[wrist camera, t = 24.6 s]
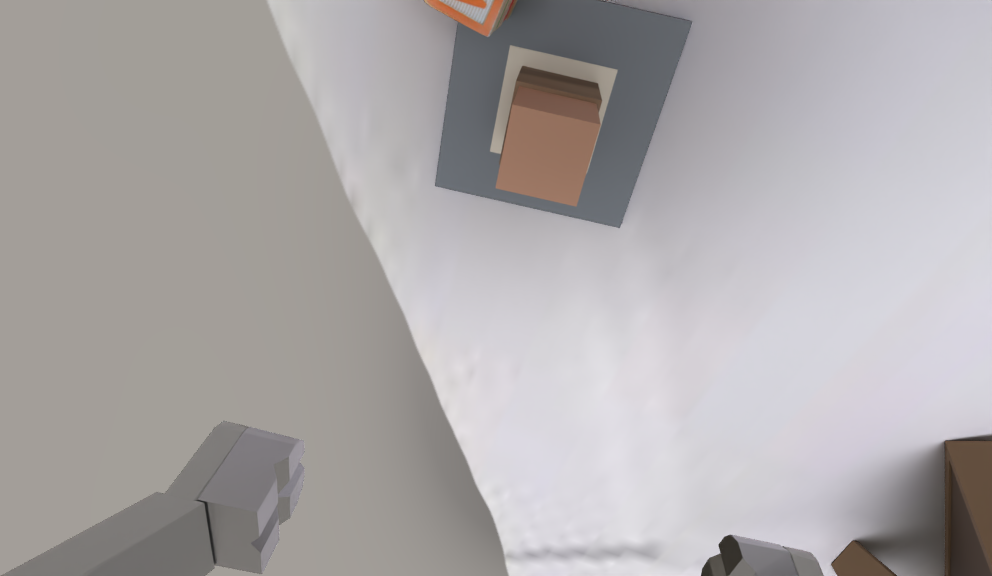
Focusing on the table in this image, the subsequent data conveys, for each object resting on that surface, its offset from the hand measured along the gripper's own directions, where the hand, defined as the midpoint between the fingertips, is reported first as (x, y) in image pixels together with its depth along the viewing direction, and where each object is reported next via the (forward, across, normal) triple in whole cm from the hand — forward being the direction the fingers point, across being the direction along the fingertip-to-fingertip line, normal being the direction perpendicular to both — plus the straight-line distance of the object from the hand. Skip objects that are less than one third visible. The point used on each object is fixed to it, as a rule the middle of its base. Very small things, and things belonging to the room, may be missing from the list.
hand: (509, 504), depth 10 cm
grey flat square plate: (+31, 0, 0) cm, 31 cm away
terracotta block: (+25, 0, 0) cm, 25 cm away
